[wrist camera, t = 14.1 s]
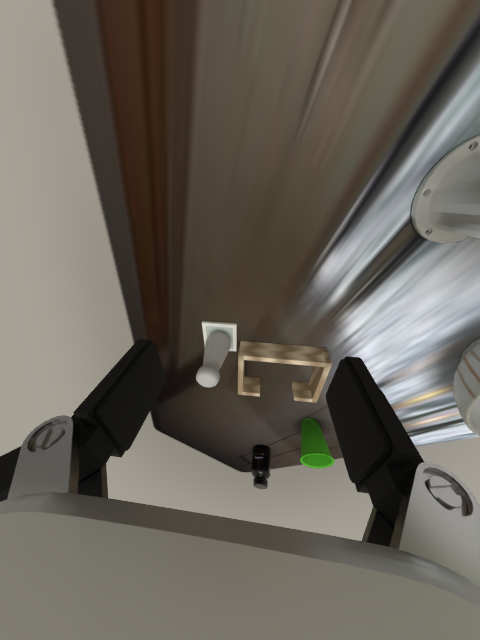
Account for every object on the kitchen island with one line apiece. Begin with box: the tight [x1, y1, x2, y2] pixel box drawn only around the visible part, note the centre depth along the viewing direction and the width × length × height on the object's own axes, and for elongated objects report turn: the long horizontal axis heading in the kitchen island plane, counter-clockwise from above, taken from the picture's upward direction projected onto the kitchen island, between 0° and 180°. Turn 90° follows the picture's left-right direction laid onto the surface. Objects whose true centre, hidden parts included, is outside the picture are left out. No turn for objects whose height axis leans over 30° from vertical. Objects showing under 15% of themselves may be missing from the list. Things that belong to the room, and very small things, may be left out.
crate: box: [238, 341, 332, 403], centre depth 47 cm, size 20×14×5 cm
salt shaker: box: [196, 331, 231, 387], centre depth 40 cm, size 6×6×13 cm
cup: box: [300, 418, 334, 468], centre depth 57 cm, size 9×9×11 cm
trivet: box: [202, 321, 237, 351], centre depth 45 cm, size 8×8×1 cm
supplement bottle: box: [252, 445, 270, 489], centre depth 70 cm, size 7×7×12 cm
